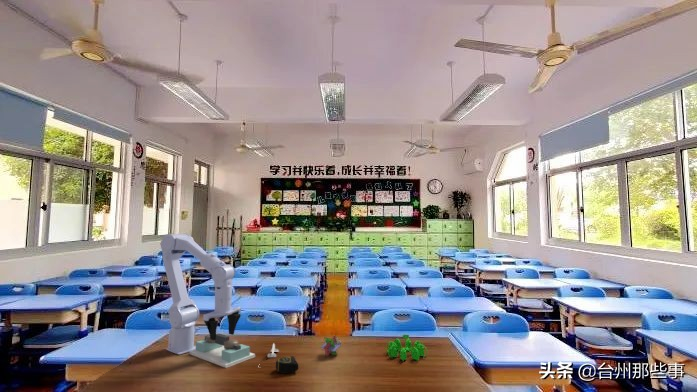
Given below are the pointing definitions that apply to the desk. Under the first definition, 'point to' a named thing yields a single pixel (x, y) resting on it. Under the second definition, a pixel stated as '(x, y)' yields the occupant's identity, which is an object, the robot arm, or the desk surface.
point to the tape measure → (286, 364)
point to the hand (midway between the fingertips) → (222, 336)
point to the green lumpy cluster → (406, 349)
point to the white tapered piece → (273, 351)
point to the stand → (221, 353)
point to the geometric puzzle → (331, 345)
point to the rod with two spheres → (224, 341)
